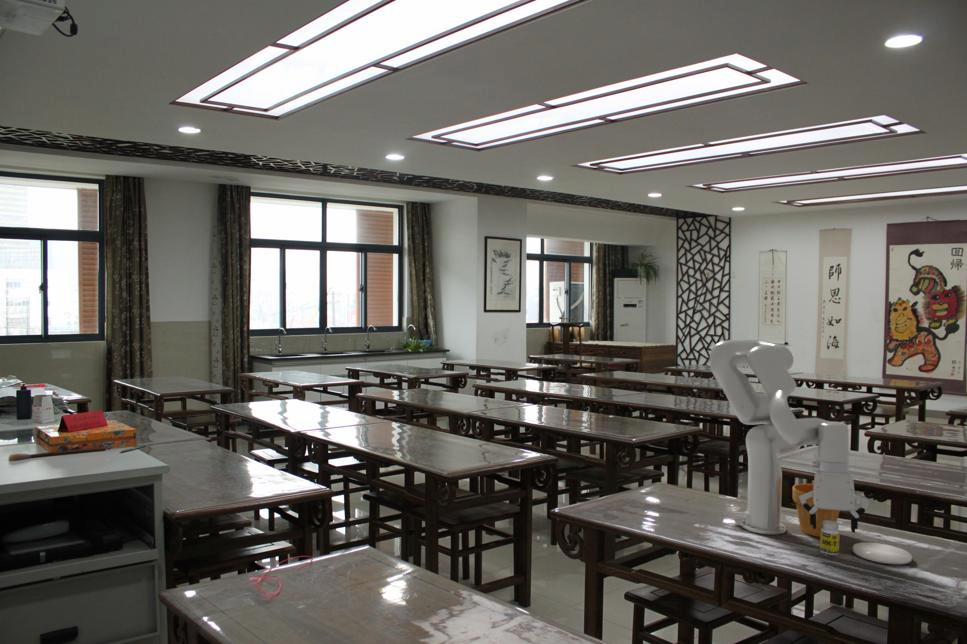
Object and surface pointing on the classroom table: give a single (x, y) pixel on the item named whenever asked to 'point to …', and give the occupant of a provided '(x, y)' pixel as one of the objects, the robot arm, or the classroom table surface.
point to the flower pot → (805, 515)
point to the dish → (882, 553)
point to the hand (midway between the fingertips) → (833, 529)
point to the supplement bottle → (830, 538)
